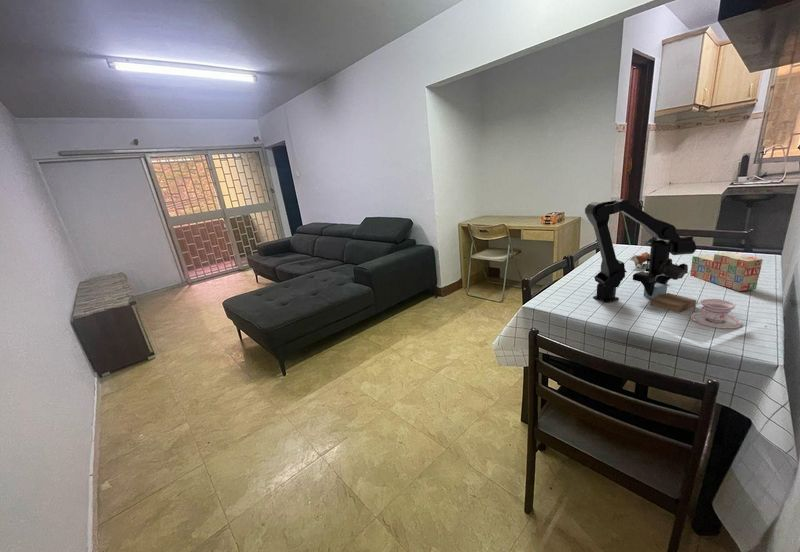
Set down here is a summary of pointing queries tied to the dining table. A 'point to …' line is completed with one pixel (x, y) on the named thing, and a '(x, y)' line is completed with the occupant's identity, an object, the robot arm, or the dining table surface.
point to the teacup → (716, 314)
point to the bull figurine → (640, 258)
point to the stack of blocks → (728, 270)
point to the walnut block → (673, 302)
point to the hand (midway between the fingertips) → (654, 294)
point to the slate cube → (657, 290)
